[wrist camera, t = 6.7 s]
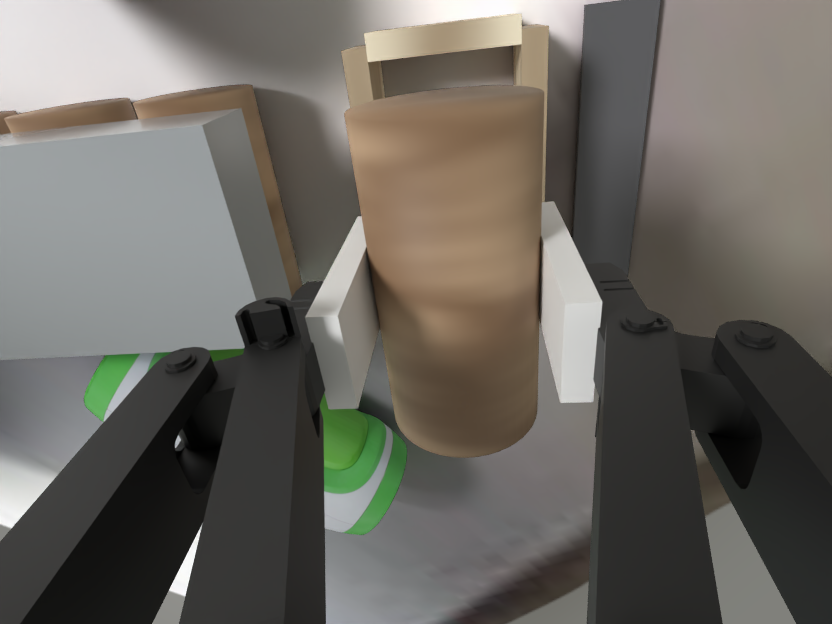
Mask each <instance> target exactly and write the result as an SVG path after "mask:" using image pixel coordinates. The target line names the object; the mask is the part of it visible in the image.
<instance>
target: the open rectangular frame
mask: <svg viewBox="0 0 832 624" xmlns="http://www.w3.org/2000/svg"><path fill="white" fill-rule="evenodd" d="M364 38H365V45H361V46H355V47H352V48H349V49H346V50H343V51H341V54H342V60H343V66H344V72H345V78H346V84H347V91H348V97H349V103H350V108H352V107H355V106H357V105H360V104H363V103H366V102H370V101H374V100H378V99H382V98H385V91H384V83H383V76H382V68H381V61H382V60H391V59H399V58H408V57H416V56H425V55H434V54H442V53H451V52H459V51H468V50H476V49H485V48H494V47H502V46H511V45H513V74H514V85H516V86H529V87H535V88H539V89H541V90H543V91H544V130H543V175H542V202H545V168H546V125H547V82H548V39H549V26H545V25H538V24H535V25H527V26H522V14H508V15H500V16H492V17H484V18H476V19H468V20H460V21H452V22H443V23H435V24H427V25H419V26H411V27H403V28H395V29H387V30H379V31H373V32H368V33H364Z"/></svg>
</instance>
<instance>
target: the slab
mask: <svg viewBox="0 0 832 624" xmlns="http://www.w3.org/2000/svg"><path fill="white" fill-rule="evenodd" d="M272 297H280V298H286V299H288V300H291V298H292V296H291V292H290V288H289V285H288V281H287V277H286V273H285V270H284V266H283V262H282V258H281V255H280V251H279V247H278V243H277V240H276V236H275V232H274V228H273V225H272V221H271V217H270V213H269V210H268V206H267V202H266V199H265V195H264V191H263V187H262V184H261V180H260V176H259V172H258V169H257V165H256V161H255V157H254V154H253V150H252V146H251V142H250V139H249V135H248V131H247V127H246V124H245V120H244V116H243V112H242V109H241V108H238V109H228V110H219V111H210V112H201V113H192V114H182V115H173V116H164V117H155V118H146V119H137V120H127V121H118V122H109V123H100V124H91V125H81V126H72V127H63V128H54V129H45V130H36V131H26V132H17V133H8V134H0V360H15V359H36V358H57V357H77V356H98V355H119V354H139V353H160V352H173V351H175V350H178V349H182V348H189V347H203V348H205V349H207V350H222V349H243V348H245V346H244V343H243V340H242V337H241V334H240V331H239V328H238V325H237V322H236V319H235V315H236V313H237V312H238V311H239V310H240V309H241V308H243V307H244V306H245V305H247V304H250V303H252V302H254V301H257V300H261V299H264V298H272Z"/></svg>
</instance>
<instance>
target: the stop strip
mask: <svg viewBox="0 0 832 624" xmlns="http://www.w3.org/2000/svg"><path fill="white" fill-rule="evenodd" d="M660 1H661V0H621V1H613V2H605V3H597V4H589V5H585V7H584V25H583V44H582V63H581V81H580V100H579V118H578V137H577V156H576V174H575V193H574V211H573V230H572V240H573V242H574V244H575V246H576V248H577V250H578V252H579V254H580V257H581V259H582V261H583V263H584V264H592V263H608V262H610V263H612V264H613V265H615V266H617V267H618V268H620V269H622V270H623V271H624V273H625V274H626V276H627V277H628V270H629V261H630V253H631V244H632V236H633V228H634V219H635V211H636V202H637V194H638V186H639V177H640V169H641V160H642V152H643V144H644V135H645V127H646V118H647V110H648V102H649V93H650V85H651V77H652V68H653V60H654V51H655V43H656V35H657V26H658V18H659V9H660Z"/></svg>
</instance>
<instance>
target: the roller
mask: <svg viewBox="0 0 832 624" xmlns="http://www.w3.org/2000/svg"><path fill="white" fill-rule="evenodd" d="M344 116H345V122H346V128H347V134H348V140H349V146H350V152H351V157H352V163H353V169H354V175H355V181H356V187H357V193H358V199H359V205H360V211H361V217H362V223H363V229H364V235H365V241H366V247H367V253H368V258H369V264H370V270H371V276H372V282H373V288H374V294H375V300H376V306H377V312H378V318H379V324H380V330H381V336H382V342H383V348H384V354H385V360H386V366H387V372H388V377H389V383H390V389H391V395H392V401H393V407H394V413H395V419H396V422H397V425H398V427H399V428H400V430H401V432H402V433H403V434H404V435H405V436H406V438H408V439H409V440H410V441H411V442H412V443H414V444H415V445H417V446H419V447H420V448H422V449H424V450H427V451H429V452H432V453H435V454H438V455H443V456H448V457H458V458H469V457H479V456H484V455H489V454H492V453H495V452H499V451H501V450H503V449H506V448H508V447H510V446H511V445H513V444H515V443H516V442H518V441H519V440H520V439H521V438H523V437H524V436H525V435H526V434H527V432H528V431H529V430H530V428H531V427H532V426H533V423H534V421H535V419H536V415H537V400H538V355H539V305H540V260H541V220H542V175H543V130H544V91H543V90H541V89H539V88H535V87H529V86H516V85H488V86H469V87H456V88H446V89H437V90H429V91H421V92H415V93H408V94H402V95H397V96H392V97H387V98H382V99H378V100H374V101H370V102H366V103H363V104H360V105H357V106H355V107H352V108H350V109H348V110H347V111H346V112H345V113H344Z"/></svg>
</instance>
